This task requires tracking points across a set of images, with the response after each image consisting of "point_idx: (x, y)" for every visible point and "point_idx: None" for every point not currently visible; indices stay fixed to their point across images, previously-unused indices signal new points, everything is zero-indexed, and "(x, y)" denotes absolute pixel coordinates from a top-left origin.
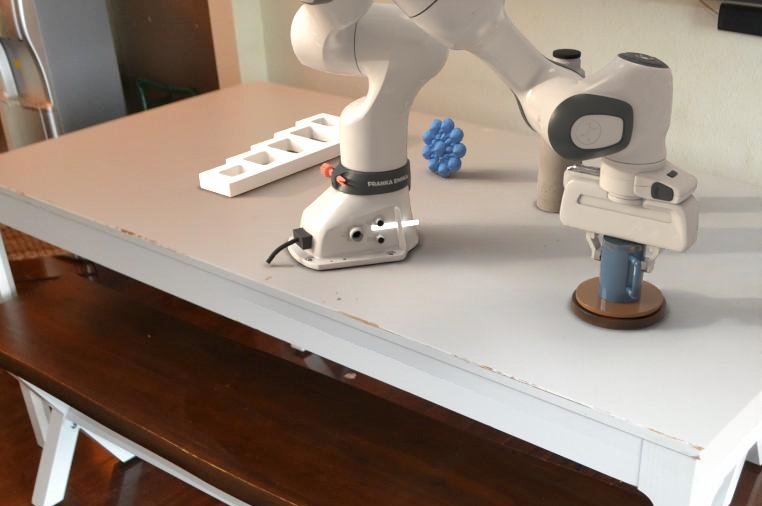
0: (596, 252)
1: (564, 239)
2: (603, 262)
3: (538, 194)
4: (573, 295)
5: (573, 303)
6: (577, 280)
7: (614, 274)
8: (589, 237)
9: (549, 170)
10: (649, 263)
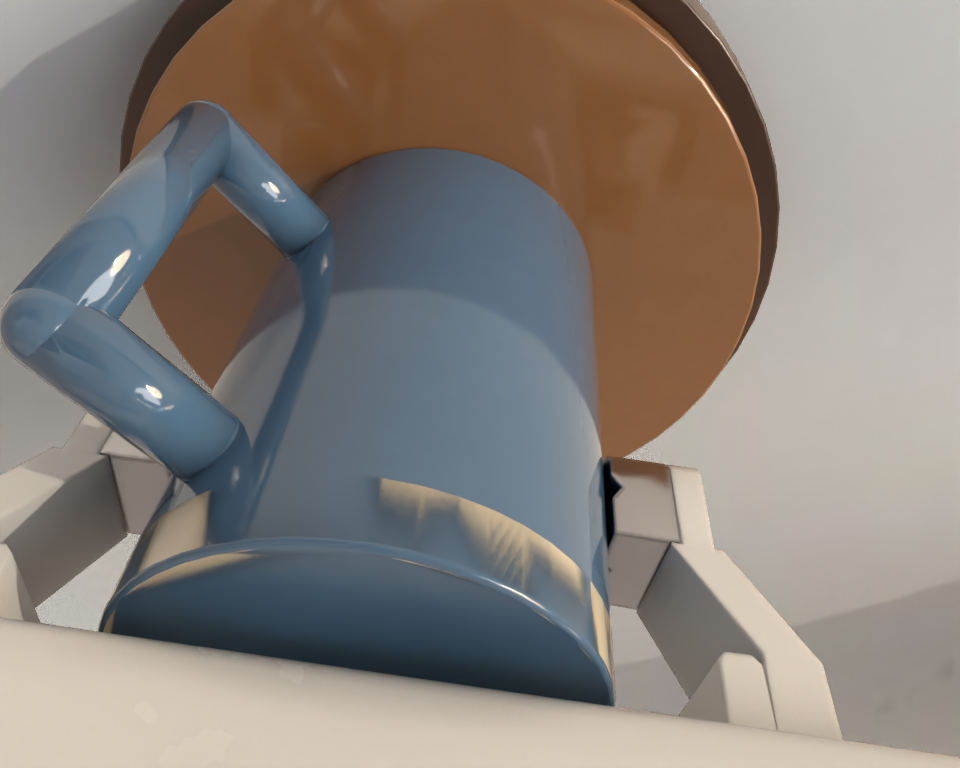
0: (659, 520)
1: (853, 719)
2: (553, 396)
3: None
4: (769, 213)
5: (755, 102)
6: (757, 454)
7: (412, 284)
8: (777, 663)
9: None
10: (75, 444)
